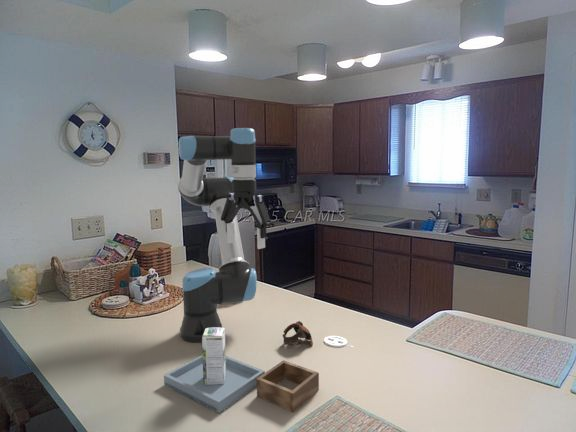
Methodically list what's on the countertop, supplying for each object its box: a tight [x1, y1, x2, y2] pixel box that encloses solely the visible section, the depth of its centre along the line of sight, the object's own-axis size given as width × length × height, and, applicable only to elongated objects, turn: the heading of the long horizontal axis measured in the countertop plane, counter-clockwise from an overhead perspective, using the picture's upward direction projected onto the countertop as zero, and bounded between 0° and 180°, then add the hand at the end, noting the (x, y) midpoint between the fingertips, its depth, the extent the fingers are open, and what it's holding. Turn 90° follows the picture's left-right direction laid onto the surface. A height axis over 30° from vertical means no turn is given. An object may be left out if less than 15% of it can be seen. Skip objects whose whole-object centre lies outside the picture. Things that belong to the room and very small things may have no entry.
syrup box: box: [201, 327, 226, 385], centre depth 113 cm, size 6×6×14 cm
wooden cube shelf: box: [256, 359, 320, 413], centre depth 109 cm, size 12×12×5 cm
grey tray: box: [163, 354, 266, 414], centre depth 114 cm, size 22×18×3 cm
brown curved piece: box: [282, 320, 314, 347], centre depth 138 cm, size 12×10×8 cm
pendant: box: [323, 335, 354, 348], centre depth 138 cm, size 7×11×1 cm, turn 56°
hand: (245, 245), depth 128 cm, fingers open, 13 cm apart
